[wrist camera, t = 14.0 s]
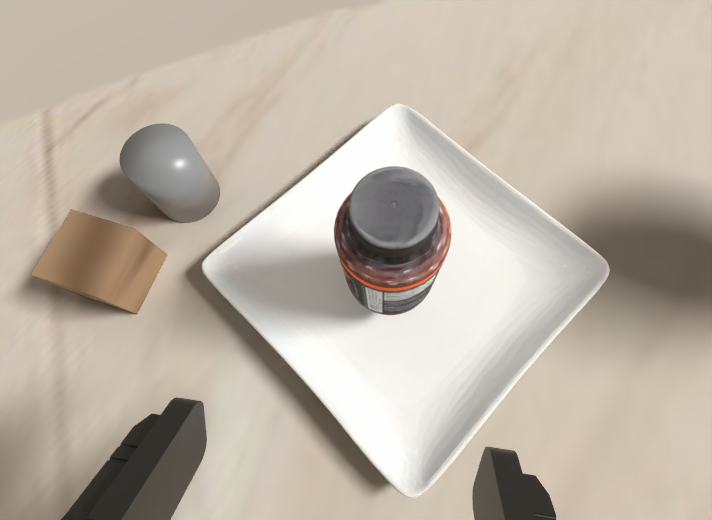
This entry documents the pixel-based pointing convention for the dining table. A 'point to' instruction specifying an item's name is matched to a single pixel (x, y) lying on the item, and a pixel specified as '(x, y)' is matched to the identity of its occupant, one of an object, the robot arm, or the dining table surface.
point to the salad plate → (424, 322)
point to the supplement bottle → (392, 239)
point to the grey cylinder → (170, 172)
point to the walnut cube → (101, 261)
